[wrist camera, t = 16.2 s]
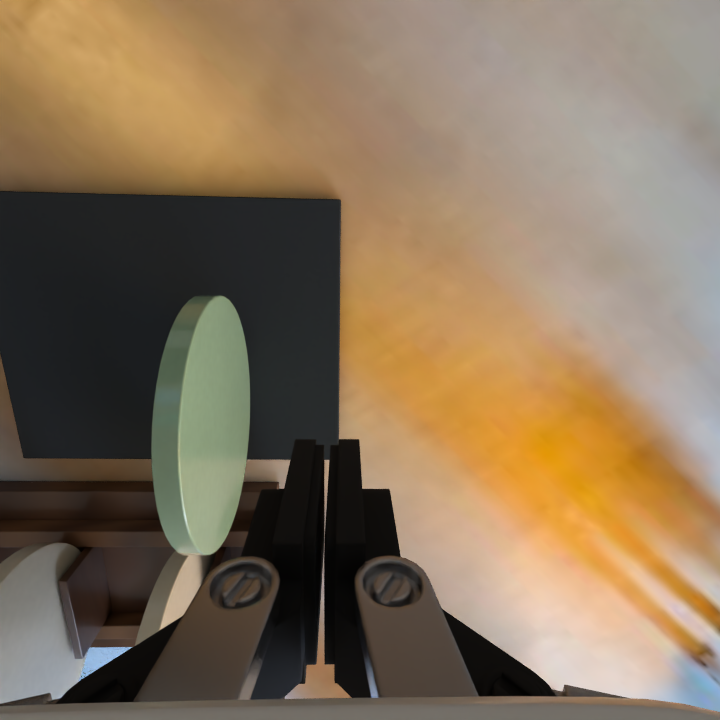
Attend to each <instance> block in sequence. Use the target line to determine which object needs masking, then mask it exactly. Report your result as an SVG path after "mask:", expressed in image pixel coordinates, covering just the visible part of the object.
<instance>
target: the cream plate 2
mask: <svg viewBox="0 0 720 720" xmlns="http://www.w3.org/2000/svg"><path fill="white" fill-rule="evenodd" d="M214 558H215V553H213V554H211V555H208V556H187V555H182V554H180V553H178V552H176V551H174V552H173V554H172V555H171V556H170V558H169V559H168V561H167V562H166V564H165V566H164V567H163V569H162V571H161V573H160V575H159V577H158V579H157V581H156V583H155V586H154V588H153V591H152V593H151V596H150V598H149V601H148V604H147V607H146V609H145V612H144V615H143V618H142V622H141V625H140V628H139V632H138V635H137V639H136V643H135V646H136V645H137V644H139V643H140V642H142V641H144V640H145V639H147V638H148V637H150V636H152V635H153V634H155V633H156V632H158V631H159V630H161V629H163V628H164V627H166V626H167V625H169V624H171V623H172V622H174V621H175V620H177V619H179V618H180V617H182V616H183V615H184V613H185V612H186V610H187V608H188V606H189V605H190V603H191V601H192V600H193V598H194V596H195V594H196V593H197V591H198V589H199V588H200V586H201V584H202V582H203V581H204V579H205V578H206V577H207V575H208V574H209V571H210V569H211V566H212V563H213V561H214Z"/></svg>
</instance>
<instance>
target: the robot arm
mask: <svg viewBox="0 0 720 720" xmlns="http://www.w3.org/2000/svg"><path fill="white" fill-rule="evenodd" d="M323 553H324V624H325V664H335V678H334V681H335V683H338V684H339V685H340V686H341V687H342V688H343V689H344V690H345V691H346V692H347V693H348V694H349V695H350V696H351V697H352V698H319V699H285V696H286V695H287V694H288V693H289V692H290V691H291V690H292V689H293V688H294V687H296V686H297V685H298V684H305V678H306V666H307V665H316V662H317V648H318V632H319V616H320V600H321V585H322V569H323ZM0 720H720V712H717V711H712V710H708V709H704V708H699V707H695V706H691V705H686V704H681V703H673V702H665V701H657V700H649V699H630V698H626V697H621V696H616V695H611V694H607V693H602V692H597V691H592V690H588V689H583V688H578V687H573V686H569V685H564V689H563V692H561V691H557V690H552V689H551V688H550V686H549V685H548V684H547V683H546V682H545V681H544V680H543V679H542V678H540V677H539V676H538V675H537V674H536V673H535V672H533V671H532V670H530V669H529V668H527V667H526V666H524V665H523V664H521V663H520V662H519V661H517V660H516V659H514V658H513V657H511V656H510V655H508V654H507V653H505V652H504V651H503V650H501V649H500V648H498V647H497V646H495V645H494V644H492V643H491V642H489V641H488V640H487V639H485V638H484V637H482V636H481V635H479V634H478V633H476V632H475V631H473V630H472V629H470V628H469V627H468V626H466V625H465V624H463V623H462V622H460V621H459V620H457V619H456V618H454V617H453V616H452V615H450V614H449V613H447V612H446V611H444V610H443V609H442V608H441V606H440V604H439V601H438V599H437V597H436V594H435V592H434V590H433V587H432V585H431V583H430V580H429V578H428V576H427V575H426V573H425V572H424V570H423V569H422V568H421V567H419V566H418V565H417V564H416V563H414V562H412V561H410V560H408V559H406V558H402V557H401V556H400V550H399V544H398V538H397V532H396V525H395V519H394V513H393V507H392V501H391V495H390V490H389V489H362V477H361V462H360V446H359V440H358V439H339V445H331V446H330V461H329V477H328V493H327V510H326V526H325V547H324V445H316V439H295V442H294V447H293V451H292V456H291V460H290V465H289V469H288V474H287V479H286V483H285V488H284V489H262V490H261V492H260V495H259V498H258V501H257V505H256V508H255V511H254V514H253V518H252V521H251V524H250V528H249V531H248V534H247V538H246V541H245V544H244V547H243V551H242V554H241V557H238V558H234V559H230V560H228V561H226V562H224V563H221V564H220V565H218V566H217V567H216V568H214V569H213V570H212V571H211V572H210V573H209V574H208V575H207V577H206V578H205V579H204V581H203V582H202V584H201V586H200V588H199V589H198V591H197V593H196V594H195V596H194V598H193V600H192V601H191V603H190V605H189V606H188V608H187V610H186V612H185V613H184V615H183V616H182V617H180V618H179V619H177V620H175V621H174V622H172V623H171V624H169V625H167V626H166V627H164V628H163V629H161V630H159V631H158V632H156V633H155V634H153V635H152V636H150V637H148V638H147V639H145V640H144V641H142V642H140V643H139V644H137V645H136V646H134V647H133V648H131V649H129V650H128V651H126V652H125V653H123V654H121V655H120V656H118V657H117V658H115V659H113V660H112V661H110V662H109V663H107V664H106V665H104V666H102V667H101V668H99V669H98V670H96V671H94V672H93V673H91V674H90V675H88V676H87V677H85V678H83V679H82V680H81V681H79V682H78V683H77V684H75V685H74V686H73V687H71V688H70V689H69V690H68V691H67V692H66V693H65V694H64V695H63V696H62V697H61V698H59V699H54V700H52V697H51V693H46V694H42V695H37V696H33V697H28V698H24V699H19V700H15V701H11V702H6V703H2V704H0Z"/></svg>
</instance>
